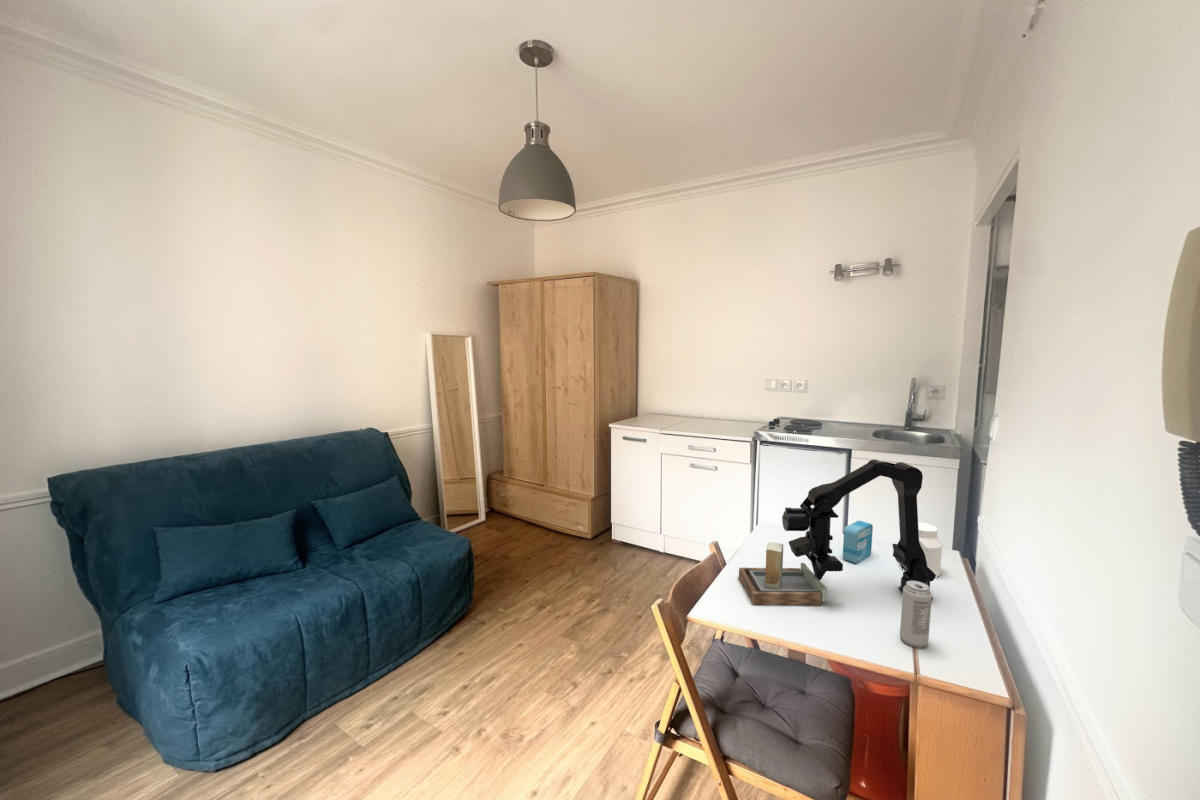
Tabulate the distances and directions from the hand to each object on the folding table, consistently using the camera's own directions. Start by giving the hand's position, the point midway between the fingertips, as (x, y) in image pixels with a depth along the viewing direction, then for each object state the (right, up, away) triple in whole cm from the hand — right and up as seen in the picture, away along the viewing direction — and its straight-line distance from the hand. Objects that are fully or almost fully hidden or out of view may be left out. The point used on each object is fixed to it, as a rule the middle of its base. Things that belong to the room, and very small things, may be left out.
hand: (817, 580), depth 147 cm
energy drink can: (+13, -7, -25) cm, 29 cm away
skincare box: (-13, -2, 0) cm, 13 cm away
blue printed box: (+24, -1, +24) cm, 34 cm away
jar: (+40, -2, +14) cm, 42 cm away
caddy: (-11, -4, +1) cm, 12 cm away
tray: (-10, -2, 0) cm, 10 cm away
